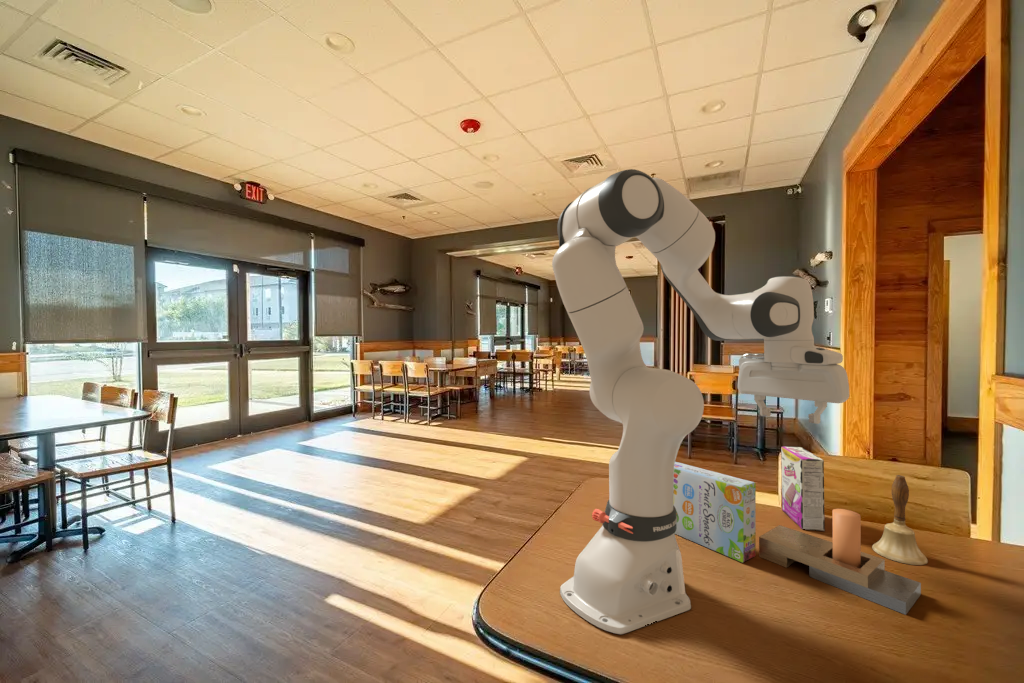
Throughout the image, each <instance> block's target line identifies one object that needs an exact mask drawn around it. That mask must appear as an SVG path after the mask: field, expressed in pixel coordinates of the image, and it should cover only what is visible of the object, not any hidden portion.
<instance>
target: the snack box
mask: <svg viewBox="0 0 1024 683" xmlns="http://www.w3.org/2000/svg"><path fill="white" fill-rule="evenodd" d="M756 487H757V486H756V482H754V481H750V480H747V479H742V478H739V477H735V476H731V475H728V474H725V473H720V472H717V471H713V470H709V469H704V468H701V467H697V466H694V465H689V464H686V463H682V462H678V461H675V465H674V492H673V505H674V507H675V508H676V516H677V523H676V527H677V529H676V531H675V535H677V536H679V537H681V538H684V539H686V540H688V541H691V542H693V543H695V544H697V545H700V546H702V547H705V548H707V549H709V550H712V551H714V552H717V553H719V554H721V555H724V556H726V557H728V558H730V559H733V560H735V561H738V562H740V563H745V562H746V561H748V560H750V559H752V558H754V557H756V553H757V552H756V550H757V548H756V547H757V546H756V543H757V542H756V540H757V539H756V536H757V535H756V530H757V528H756V527H757V526H756V505H757V504H756V502H757V501H756V499H757V498H756V496H757V495H756V493H757V492H756V491H757V489H756Z"/></svg>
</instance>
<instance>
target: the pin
mask: <svg viewBox="0 0 1024 683" xmlns="http://www.w3.org/2000/svg"><path fill="white" fill-rule="evenodd" d="M861 518H862V517H861V514H860V513H858V512H856V511H852V510H850V509H845V508H833V509H832V542H833V559H834V560H837V561H840V562H843V563H845V564H848V565H851V566H854V567H857V568H861V552H862V550H861V549H862V544H861V539H862V538H861V537H862V536H861V535H862V533H861V531H862V530H861V529H862V528H861V527H862V526H861V523H862V522H861V521H862V520H861Z"/></svg>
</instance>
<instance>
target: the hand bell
mask: <svg viewBox="0 0 1024 683" xmlns="http://www.w3.org/2000/svg"><path fill="white" fill-rule="evenodd" d="M909 497H910V489H909V486H908V482H907V481H906V477H905V476H904V475H900V474H896V475H895V478H894V481H892V485H891V498H892V501H893V503H894V514H893V522H890V523H886V524H884V528H883V533H882V536H881V538H880V539H879V540H878V541H877V542H874V543H873V544H872V546H871V549H872V550H873V551H874V552H875V553H876V554H878V555H879V556H882V557H884V558H886V559H887V560H891V561H894V562H896V563H902V564H905V565H911V566H923V565H927V564H928V563H929V560H928V558H927V556H926V555H925V554H924V553H923V552H922V551H921V549H920V548H919V545H918V544H917V540H916V536H915V531H914V530H913V529H912V528H911V527H909V526H907V525H906V506H907V504H908V502H909Z"/></svg>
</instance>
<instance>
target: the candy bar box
mask: <svg viewBox="0 0 1024 683" xmlns="http://www.w3.org/2000/svg"><path fill="white" fill-rule="evenodd" d="M780 452H781V453H780V455H781V456H780V457H781V461H780V462H781V464H780V465H781V468H780V469H781V510H782V511H783V512H784V513H785V514H786V515H787V516H788V517H789V518H790V519H791V520H792V521H793V522H794V523H795V524H796V525H798V527H799V528H800V529H801V530H803V529H805V530H806V531H815V530H816V531H818V532H825V531H826V530H825V529H826V528H825V526H826V525H825V524H826V523H825V518H826V517H825V473H824V472H825V470H824V469H825V464H824V463H825V461H824V459H822V458H821V457H819V456H817V455H815V454H814V453H812V452H810V451H809V450H807V449H805V448H803V447H801V446H781V448H780ZM805 530H804V531H805Z"/></svg>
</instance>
